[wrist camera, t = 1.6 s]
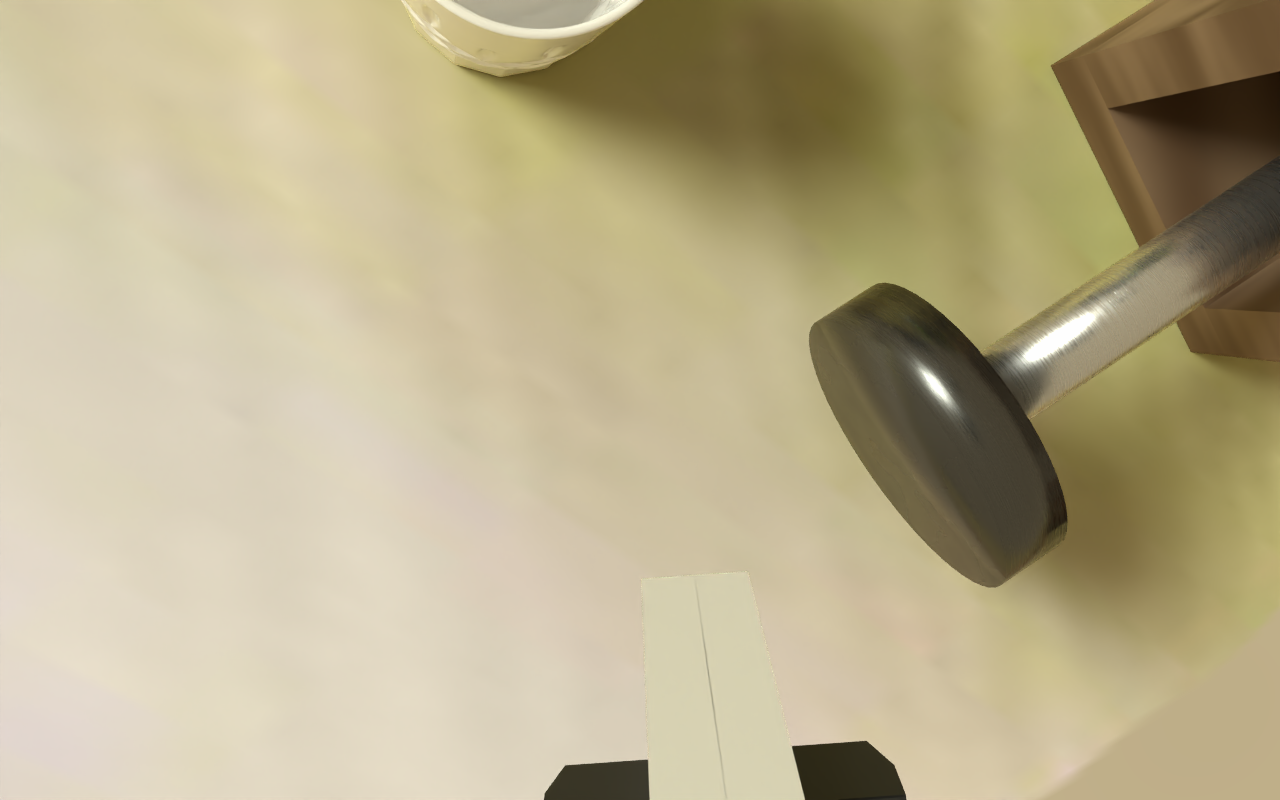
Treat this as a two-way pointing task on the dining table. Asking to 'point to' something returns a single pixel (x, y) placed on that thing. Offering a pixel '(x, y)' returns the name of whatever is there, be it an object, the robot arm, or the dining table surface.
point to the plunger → (1015, 381)
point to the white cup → (512, 30)
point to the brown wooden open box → (1188, 136)
